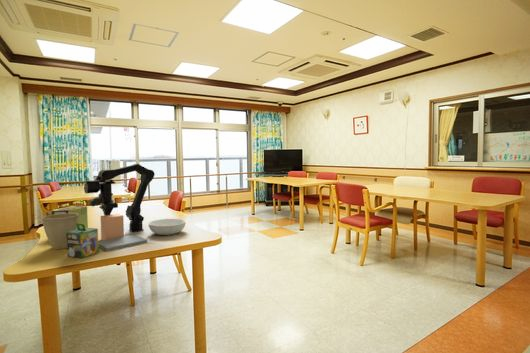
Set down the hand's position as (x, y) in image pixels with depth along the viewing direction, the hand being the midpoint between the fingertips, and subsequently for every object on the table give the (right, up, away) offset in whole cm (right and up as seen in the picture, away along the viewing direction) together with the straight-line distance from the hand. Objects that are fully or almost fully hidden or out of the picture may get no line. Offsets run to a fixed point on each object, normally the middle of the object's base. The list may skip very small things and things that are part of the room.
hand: (106, 218), depth 163 cm
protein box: (-24, -10, +5) cm, 26 cm away
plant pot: (-12, -11, -20) cm, 26 cm away
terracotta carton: (+6, -10, -5) cm, 13 cm away
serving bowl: (+32, -10, +7) cm, 35 cm away
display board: (+16, -11, -14) cm, 23 cm away
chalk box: (+6, -12, -31) cm, 34 cm away
